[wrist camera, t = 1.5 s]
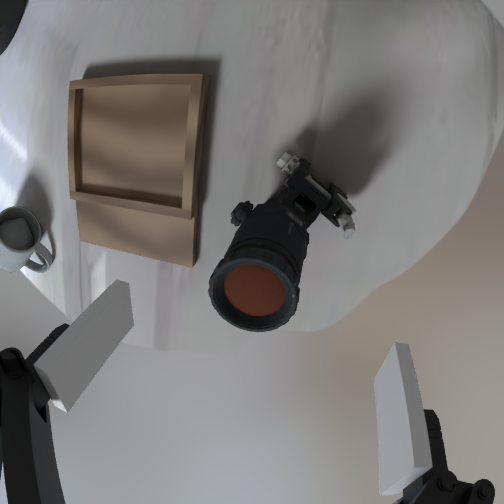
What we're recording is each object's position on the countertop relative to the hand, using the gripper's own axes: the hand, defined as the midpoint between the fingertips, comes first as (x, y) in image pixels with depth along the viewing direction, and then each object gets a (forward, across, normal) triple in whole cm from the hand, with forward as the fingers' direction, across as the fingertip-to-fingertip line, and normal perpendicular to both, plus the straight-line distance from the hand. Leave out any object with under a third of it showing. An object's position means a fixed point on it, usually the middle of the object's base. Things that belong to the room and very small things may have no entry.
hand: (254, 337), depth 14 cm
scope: (+18, 0, 0) cm, 18 cm away
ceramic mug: (+18, -37, -10) cm, 42 cm away
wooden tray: (+18, -17, +2) cm, 25 cm away
